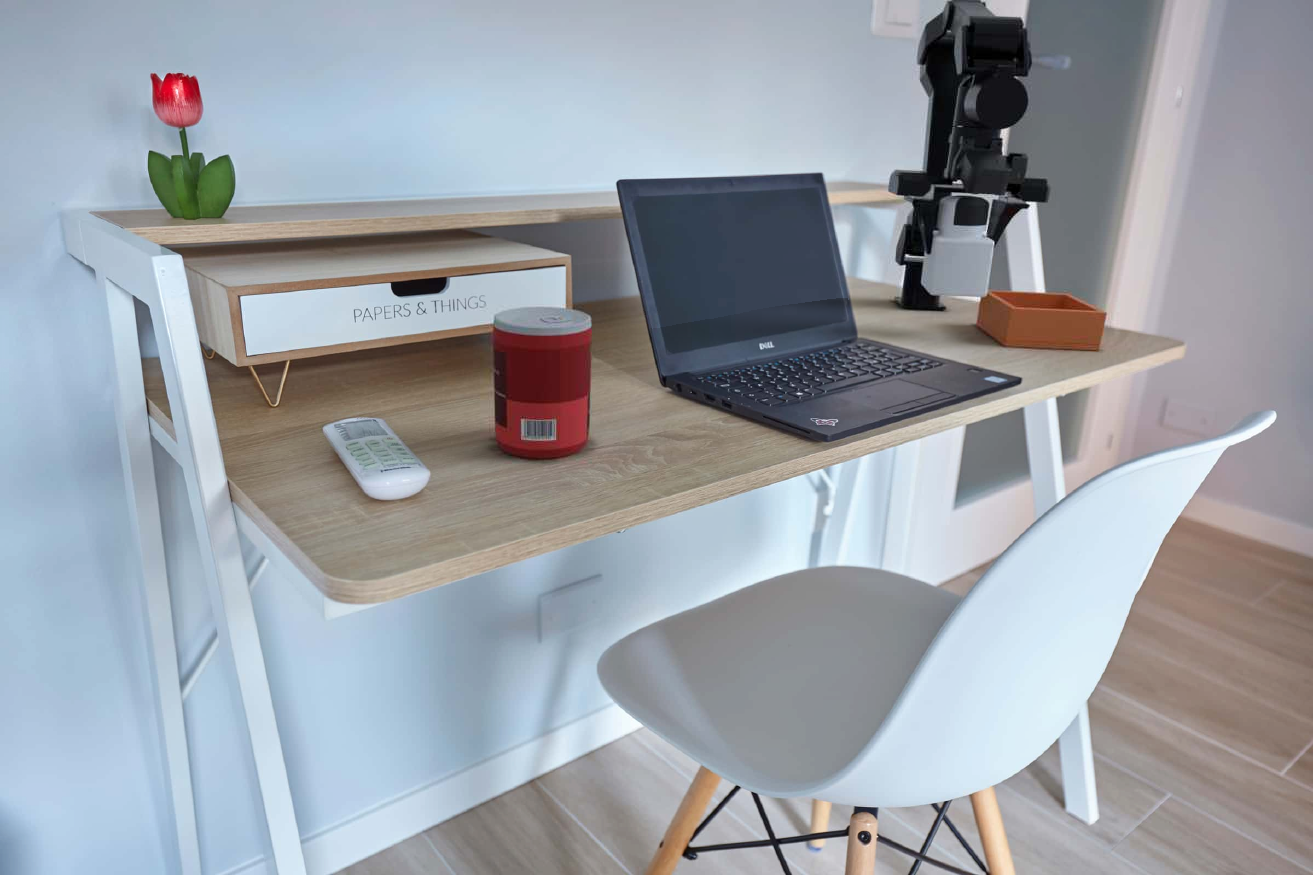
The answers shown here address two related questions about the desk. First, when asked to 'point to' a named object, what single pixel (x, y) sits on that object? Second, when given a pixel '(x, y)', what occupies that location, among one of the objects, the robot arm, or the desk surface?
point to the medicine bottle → (959, 249)
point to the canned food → (542, 381)
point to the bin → (1041, 320)
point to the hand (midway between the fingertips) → (957, 255)
